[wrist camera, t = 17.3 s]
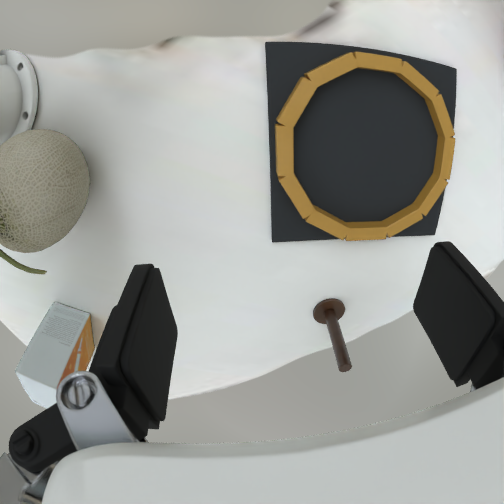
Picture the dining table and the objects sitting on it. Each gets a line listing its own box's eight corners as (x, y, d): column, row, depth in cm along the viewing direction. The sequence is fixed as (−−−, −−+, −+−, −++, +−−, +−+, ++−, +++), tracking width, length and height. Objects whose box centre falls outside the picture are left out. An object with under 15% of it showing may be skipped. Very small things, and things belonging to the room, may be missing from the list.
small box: (95, 348, 40) (69, 418, 29) (61, 336, 39) (30, 402, 28) (91, 312, 36) (56, 390, 25) (53, 299, 35) (12, 370, 24)
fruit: (61, 233, 29) (-11, 323, 17) (16, 149, 24) (-81, 210, 11) (129, 199, 28) (55, 299, 15) (80, 98, 22) (-36, 136, 9)
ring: (271, 48, 20) (273, 46, 19) (451, 72, 20) (459, 73, 19) (276, 237, 30) (278, 244, 28) (431, 231, 30) (437, 237, 28)
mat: (265, 42, 20) (265, 41, 20) (453, 68, 20) (456, 68, 20) (271, 239, 30) (272, 242, 30) (432, 232, 30) (434, 235, 30)
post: (314, 299, 35) (329, 359, 27) (346, 297, 35) (367, 354, 27) (311, 323, 37) (324, 381, 30) (341, 320, 37) (359, 376, 30)
